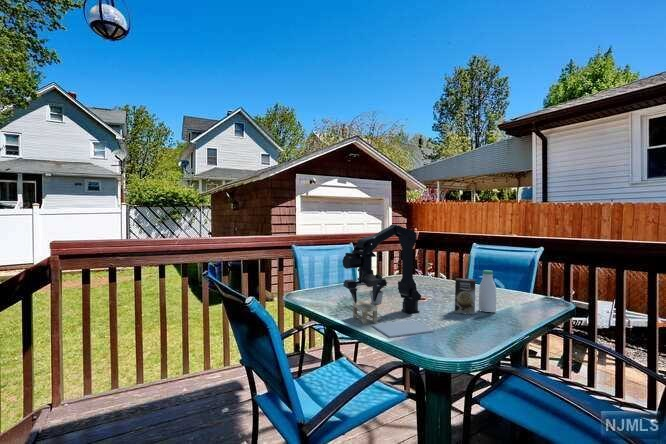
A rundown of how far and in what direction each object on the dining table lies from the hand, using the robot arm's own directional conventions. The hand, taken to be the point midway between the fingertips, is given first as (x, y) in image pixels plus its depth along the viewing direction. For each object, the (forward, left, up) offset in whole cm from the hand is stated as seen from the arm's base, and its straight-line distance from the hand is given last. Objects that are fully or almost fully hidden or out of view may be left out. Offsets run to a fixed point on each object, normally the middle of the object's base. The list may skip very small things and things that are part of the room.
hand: (365, 302), depth 151 cm
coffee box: (-51, +5, -8) cm, 52 cm away
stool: (0, 0, -8) cm, 8 cm away
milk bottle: (-63, +7, -8) cm, 64 cm away
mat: (-9, +16, -8) cm, 20 cm away
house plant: (-18, -25, -8) cm, 32 cm away
